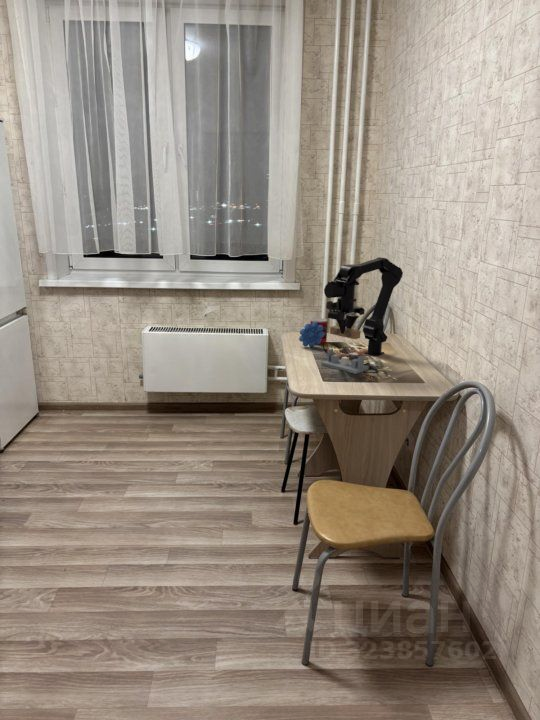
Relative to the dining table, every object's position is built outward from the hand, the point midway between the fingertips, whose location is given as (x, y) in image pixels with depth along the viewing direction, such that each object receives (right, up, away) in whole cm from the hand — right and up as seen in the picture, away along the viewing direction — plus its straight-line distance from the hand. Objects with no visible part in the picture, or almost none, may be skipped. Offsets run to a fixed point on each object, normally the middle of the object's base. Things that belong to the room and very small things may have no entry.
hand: (345, 332), depth 225 cm
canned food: (-9, -3, +31) cm, 32 cm away
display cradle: (-1, -14, -7) cm, 16 cm away
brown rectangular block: (0, -1, 0) cm, 1 cm away
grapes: (-12, -5, +23) cm, 26 cm away
